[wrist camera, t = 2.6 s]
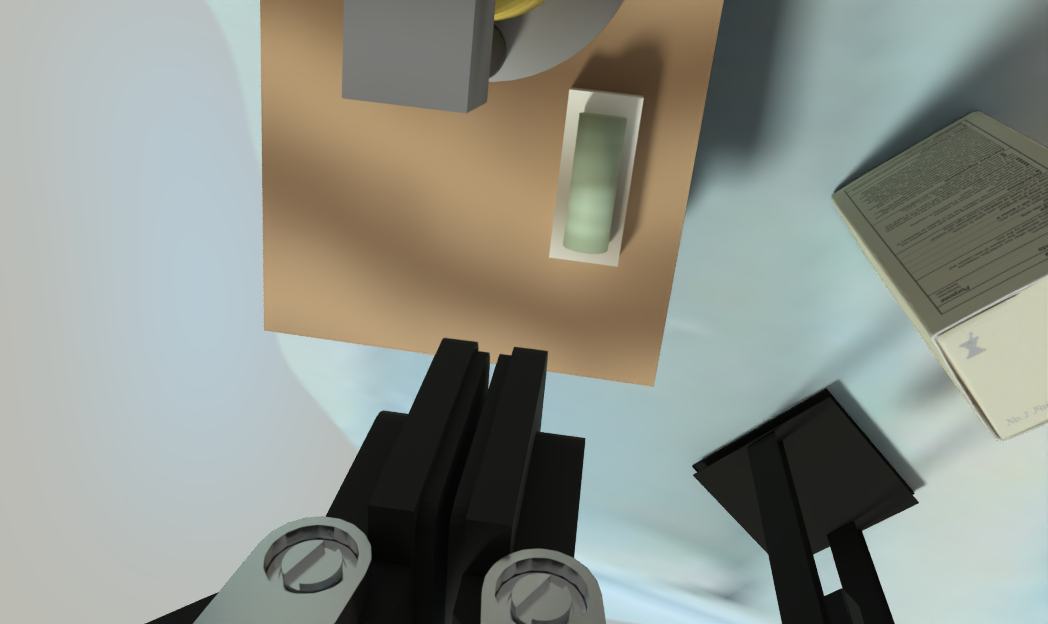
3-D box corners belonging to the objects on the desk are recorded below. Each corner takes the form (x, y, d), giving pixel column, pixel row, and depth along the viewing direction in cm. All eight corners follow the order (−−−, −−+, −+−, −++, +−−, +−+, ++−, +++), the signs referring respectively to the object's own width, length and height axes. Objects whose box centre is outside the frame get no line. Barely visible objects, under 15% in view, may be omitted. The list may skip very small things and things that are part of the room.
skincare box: (876, 273, 33) (990, 453, 22) (824, 190, 32) (920, 339, 21) (1030, 191, 31) (1241, 349, 20) (982, 98, 29) (1180, 213, 19)
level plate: (274, -409, 22) (4, -751, 12) (785, -370, 21) (927, -710, 11) (277, 318, 29) (112, 458, 20) (652, 372, 28) (668, 546, 19)
